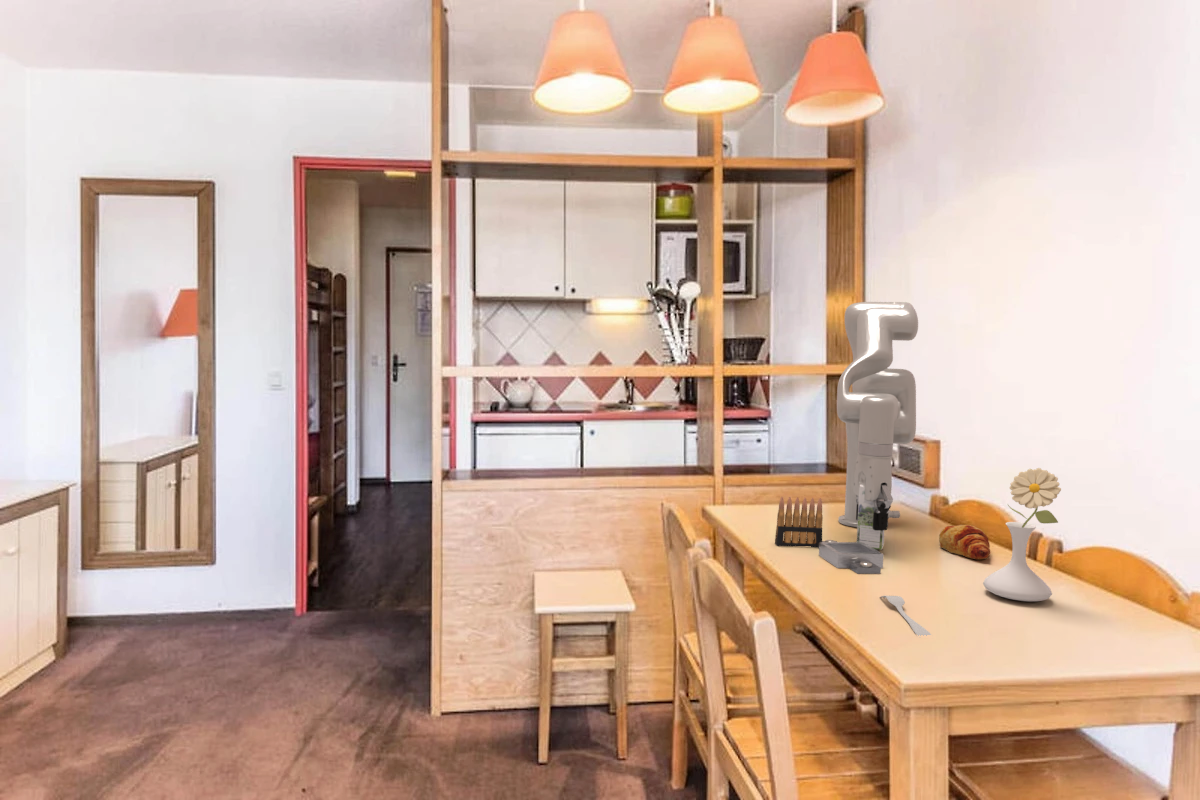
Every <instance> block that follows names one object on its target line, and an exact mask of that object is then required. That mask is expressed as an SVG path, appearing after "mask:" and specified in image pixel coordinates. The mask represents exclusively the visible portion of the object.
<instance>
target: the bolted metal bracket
mask: <svg viewBox="0 0 1200 800" xmlns="http://www.w3.org/2000/svg"><path fill="white" fill-rule="evenodd" d="M816 548H818V556H819V557H820V558H822V559H823V560H825V561H826V562H828V563H829V564H831V565H832V566H834V567H835V568H836V569H850V571H852V572H854V573H855V574H858V575H861V574H865V575H866V574H868V575H870V574H871V575H872V574H873V575H874V574H881V573H882V571H881V569H883V568H884V553H882V552H880V550H878V549H874V548H872V547H870V546H868V545H866V544H865V543H863V542H857V541H855V542H854V541H837V540H832V539H825V540H822V542H817V547H816Z"/></svg>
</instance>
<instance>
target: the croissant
mask: <svg viewBox="0 0 1200 800" xmlns="http://www.w3.org/2000/svg"><path fill="white" fill-rule="evenodd" d="M938 541H939V546H940V548H941V549H944V550H945V551H946V552H948V551H949V553H951V554H953V553H955V555H958V556H962V555H963V557H964V556H965V557H966V558H968V559H971V560H972V559H973V560H977V561H978V560H985V558H986V559H988V558H989V556H990V555H991V549H990V547H991V545H990V542H989V537H988V536H987V534H986V533H985V532H984V531H983V530H982V529H980V528H978V527H976V526H973V525H970V524H959V525H947V526H944V528H943V529H942V530H941V531H940V533H939V536H938Z"/></svg>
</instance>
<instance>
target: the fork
mask: <svg viewBox="0 0 1200 800" xmlns="http://www.w3.org/2000/svg"><path fill="white" fill-rule="evenodd" d="M880 597H881V598H883V597H884V598H883V599H887V601H888V602H889V603H890V604H892V605H893V606H895V608H896V609H897V611H898V612H899V613H900V615H901V616H902V617H903V618H904V619H905V621H906V622H907V623H908V625H909V626H910V628H911V629H912V631H913V633H915V635H916V634H917V635H918V636H919V635H920V636H921V635H923V636H924V635H926V636H927V635H932V634H931V632H930V631H928V630H927V629H926V628H924V627H923V626H922V625H921V624H919V623H918V622H916V621H915V620H914V619H913V618H911V617H910V616H909V615H908V614H907V613H906V612H905V610H904V609H903V606H904V605H905V603H906V602H905V600H904V598H903V597H902V596H899V595H881V596H880ZM881 598H880V599H881ZM917 635H916V636H917ZM918 636H917V637H918Z"/></svg>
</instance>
